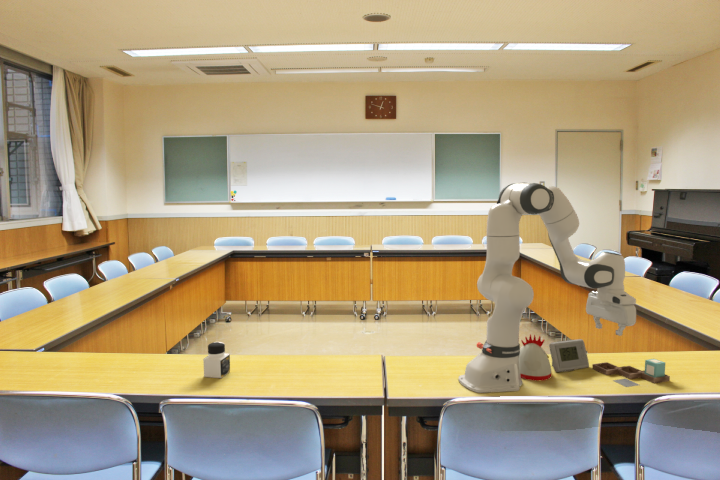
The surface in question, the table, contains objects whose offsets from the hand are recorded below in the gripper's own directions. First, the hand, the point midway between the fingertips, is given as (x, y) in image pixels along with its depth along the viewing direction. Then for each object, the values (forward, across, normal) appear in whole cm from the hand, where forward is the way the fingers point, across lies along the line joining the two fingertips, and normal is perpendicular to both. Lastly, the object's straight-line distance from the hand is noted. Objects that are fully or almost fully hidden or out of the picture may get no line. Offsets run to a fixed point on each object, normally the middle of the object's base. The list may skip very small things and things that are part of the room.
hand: (608, 331), depth 175 cm
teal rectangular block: (+15, +11, +10) cm, 22 cm away
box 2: (+16, +6, +5) cm, 17 cm away
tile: (+16, +11, -2) cm, 19 cm away
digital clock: (+16, -7, -11) cm, 21 cm away
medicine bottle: (+16, -42, -141) cm, 148 cm away
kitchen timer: (+16, -7, -28) cm, 33 cm away
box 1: (+16, 0, 0) cm, 16 cm away
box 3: (+16, +11, +10) cm, 22 cm away
